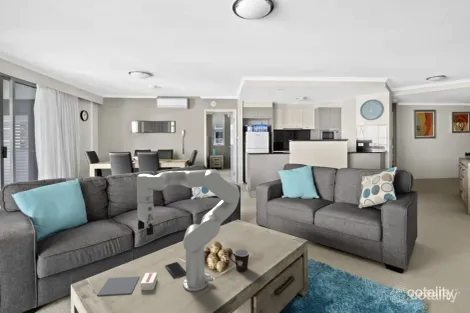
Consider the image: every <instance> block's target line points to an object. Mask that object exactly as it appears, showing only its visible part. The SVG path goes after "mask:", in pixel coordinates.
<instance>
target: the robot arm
mask: <svg viewBox="0 0 470 313" xmlns="http://www.w3.org/2000/svg"><path fill="white" fill-rule="evenodd" d="M167 186H183V187H186V188H189V189H193V188H194V189H195V188H204V187H205V188H207V190H208V191H210V192H211V193H212V194H214V195H215V196H217V198H219V199H220V201H219V202H218V203H217V204H216V205H215V206H213V208H212V209H211V210H209V211H208V212H206V213H205V214H204V215H203V217H202V218H201V221H200V224H198V223H193V224H191V225H189V226H188V227H187V229H186V231H185V233H184V238H183V241H182V245H183V248H184V250H185V271H186V275H185V279H184V280H183V282H182V283H183V284H182V286H183V288H184V289H185V290H187V291H189V292H199V291H202V290H203V289H205V288H206V287H207V286H208V282H214V276H212V275H211V274H208V275H207V274H206V272H205V246H206V245H208V244H209V243H210V242H211V241H212V240H213V239H215V238H216V237H217V236H218V235H219V233H220V231H221V224H223V223H224V221H226V220H227V219H228V218H229V217H230V216H231V215H232V214H233V213H235V212H234V211H235V210H236V209H237V206H238V204H239V201H240V196H241V194H240V190H239V187H238V186H237V184H236V183H235V182H232V181H231V182H230V181H227V180H226V179H225V178H224V177H222V176H221V173H220V172H219V170H217V169H215V168H213V169H211V168H210V169H200V170H199V169H197V170H174V171H162V172H159V173H158V174H156V175H152V174H151V173H141V174H138V175H137V177H136V202H137V207H136V209H137V211H136V215H137V216H136V217H137V229H138V231H139V230H144V229H145V224H146V236H147V237H149V236H152V235H154V225H155V219H156V218H155V216H156V215H155V206H154V191H163V190H165V189H166V188H167Z"/></svg>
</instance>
